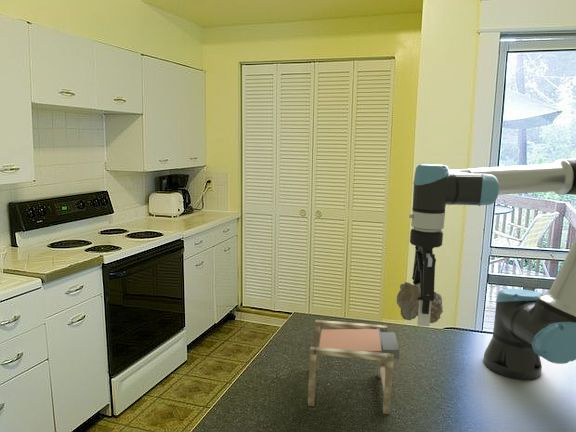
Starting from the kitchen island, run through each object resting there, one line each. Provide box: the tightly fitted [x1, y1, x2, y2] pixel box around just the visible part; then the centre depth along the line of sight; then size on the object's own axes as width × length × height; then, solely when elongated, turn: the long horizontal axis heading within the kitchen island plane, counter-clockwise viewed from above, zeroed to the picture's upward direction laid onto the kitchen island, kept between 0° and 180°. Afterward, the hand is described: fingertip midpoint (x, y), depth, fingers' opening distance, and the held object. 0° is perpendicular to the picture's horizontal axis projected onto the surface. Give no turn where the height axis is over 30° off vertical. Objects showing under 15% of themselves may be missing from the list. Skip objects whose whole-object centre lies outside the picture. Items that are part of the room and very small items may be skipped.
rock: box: [396, 281, 444, 324], centre depth 110 cm, size 9×12×10 cm
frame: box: [307, 319, 395, 415], centre depth 114 cm, size 20×18×15 cm
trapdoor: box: [319, 328, 400, 360], centre depth 113 cm, size 19×14×3 cm
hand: (420, 317), depth 110 cm, fingers closed on rock, 9 cm apart
